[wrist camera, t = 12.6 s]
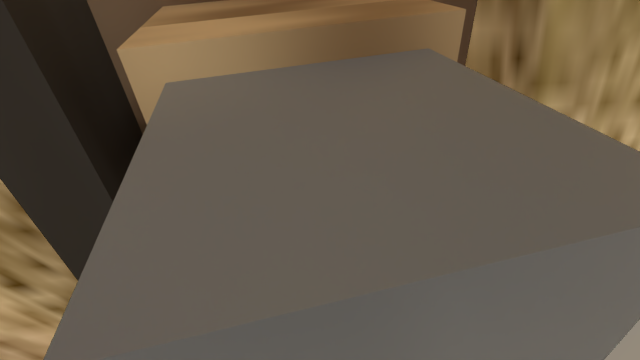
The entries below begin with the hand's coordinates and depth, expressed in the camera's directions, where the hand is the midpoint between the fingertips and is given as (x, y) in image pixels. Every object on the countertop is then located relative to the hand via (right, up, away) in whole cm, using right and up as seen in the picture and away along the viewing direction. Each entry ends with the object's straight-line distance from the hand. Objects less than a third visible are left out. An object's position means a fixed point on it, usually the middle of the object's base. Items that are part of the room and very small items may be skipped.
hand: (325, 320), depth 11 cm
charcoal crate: (0, +5, -5) cm, 7 cm away
